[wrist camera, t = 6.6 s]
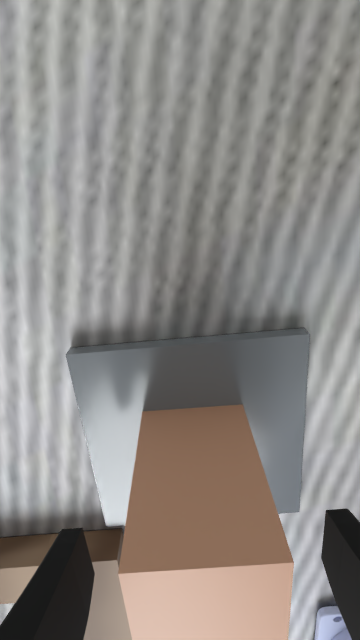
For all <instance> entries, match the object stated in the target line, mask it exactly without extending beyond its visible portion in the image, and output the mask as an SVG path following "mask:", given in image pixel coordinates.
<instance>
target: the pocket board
mask: <svg viewBox="0 0 360 640" xmlns="http://www.w3.org/2000/svg"><path fill="white" fill-rule="evenodd" d="M58 534H59V533H58ZM58 534H45V535H32V536H18V537H5V538H0V604H8V603H16V601H17V600H18V598H19V597H20V595H21V594H22V592H23V591H24V589H25V588H26V586H27V584H28V583H29V581H30V580H31V578H32V577H33V575H34V573H35V572H36V570H37V569H38V567H39V565H40V564H41V562H42V561H43V559H44V557H45V556H46V554H47V552H48V551H49V549H50V547H51V546H52V544H53V542H54V541H55V539H56V537H57V536H58ZM84 535H85V539H86V543H87V546H88V550H89V554H90V557H91V561H92V565H93V569H94V572H95V576H94V583H93V591H92V598H91V604H90V611H89V617H88V622H87V626H86V631H85V635H84V639H83V640H132V637H131V632H130V627H129V623H128V618H127V613H126V609H125V604H124V599H123V595H122V590H121V585H120V581H119V576H118V571H119V564H120V558H121V551H122V544H123V538H124V536H123V531H122V529H111V530H98V531H85V532H84Z"/></svg>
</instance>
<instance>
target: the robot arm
mask: <svg viewBox="0 0 360 640" xmlns="http://www.w3.org/2000/svg"><path fill="white" fill-rule="evenodd" d="M321 558H322V561H323V564H324V568H325V571H326V574H327V577H328V580H329V583H330V586H331V589H332V592H333V595H334V598H335V601H336V603H337V606H327V607H322V608H320V609H319V610H318V612H317V620H316V629H315V639H314V640H360V522H359V521H358V520H357V519H356V518H355V516H354V515H353V514H352V513H351V512H350V511H349V510H348V509H336V510H326V515H325V526H324V536H323V546H322V557H321ZM94 576H95V572H94V569H93V565H92V561H91V557H90V554H89V550H88V546H87V543H86V539H85V535H84V531H83V528H76V529H62V530H61V531H60V532H59V534H58V536H57V537H56V539H55V541H54V542H53V544H52V546H51V547H50V549H49V551H48V552H47V554H46V556H45V557H44V559H43V561H42V562H41V564H40V565H39V567H38V569H37V570H36V572H35V573H34V575H33V577H32V578H31V580H30V581H29V583H28V584H27V586H26V588H25V589H24V591H23V592H22V594H21V595H20V597H19V598H18V600H17V601H16V603H15V604H14V606H13V607H12V609H11V610H10V612H9V613H8V615H7V616H6V618H5V619H4V621H3V622H2V624H1V625H0V640H83V639H84V635H85V631H86V626H87V622H88V617H89V611H90V604H91V598H92V591H93V583H94Z"/></svg>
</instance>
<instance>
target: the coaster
mask: <svg viewBox="0 0 360 640" xmlns="http://www.w3.org/2000/svg"><path fill="white" fill-rule="evenodd" d="M309 342H310V334H309V333H308V332H307V331H306V329H305V328H297V329H285V330H273V331H261V332H250V333H238V334H226V335H214V336H203V337H191V338H179V339H167V340H156V341H144V342H132V343H120V344H109V345H97V346H85V347H73V348H70V349H69V351H68V352H67V354H66V358H67V362H68V366H69V371H70V375H71V379H72V383H73V388H74V392H75V396H76V400H77V405H78V409H79V413H80V417H81V422H82V426H83V430H84V434H85V439H86V443H87V447H88V451H89V456H90V460H91V464H92V468H93V473H94V477H95V481H96V485H97V490H98V494H99V498H100V502H101V507H102V511H103V515H104V519H105V524H106V527H108V526H121V525H125V524H126V518H127V511H128V504H129V497H130V491H131V484H132V477H133V471H134V464H135V457H136V451H137V444H138V437H139V430H140V424H141V417H142V411H156V410H171V409H185V408H199V407H213V406H228V405H242V404H243V407H244V410H245V413H246V416H247V419H248V422H249V425H250V429H251V432H252V435H253V438H254V441H255V444H256V447H257V450H258V453H259V456H260V459H261V463H262V466H263V469H264V472H265V475H266V478H267V481H268V484H269V487H270V490H271V494H272V497H273V500H274V503H275V506H276V509H277V512H278V514H280V513H293V512H299V508H300V492H301V475H302V458H303V442H304V425H305V409H306V392H307V375H308V359H309Z"/></svg>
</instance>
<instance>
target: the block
mask: <svg viewBox="0 0 360 640" xmlns="http://www.w3.org/2000/svg"><path fill="white" fill-rule="evenodd" d="M293 567H294V562H293V559H292V555H291V552H290V549H289V546H288V543H287V540H286V537H285V534H284V531H283V528H282V524H281V521H280V518H279V515H278V512H277V509H276V506H275V503H274V500H273V497H272V494H271V490H270V487H269V484H268V481H267V478H266V475H265V472H264V469H263V466H262V463H261V459H260V456H259V453H258V450H257V447H256V444H255V441H254V438H253V435H252V432H251V429H250V425H249V422H248V419H247V416H246V413H245V410H244V407H243V404H242V405H228V406H213V407H199V408H185V409H171V410H156V411H142V417H141V424H140V430H139V437H138V444H137V451H136V457H135V464H134V471H133V477H132V484H131V491H130V497H129V504H128V511H127V518H126V524H125V531H124V538H123V544H122V551H121V558H120V564H119V571H118V576H119V581H120V585H121V590H122V595H123V599H124V604H125V609H126V613H127V618H128V623H129V627H130V632H131V637H132V640H288V633H289V619H290V606H291V593H292V580H293Z"/></svg>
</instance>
